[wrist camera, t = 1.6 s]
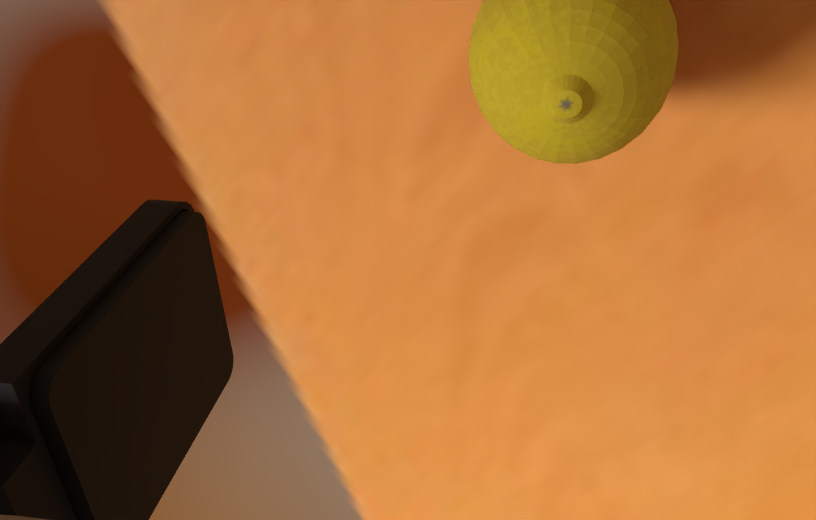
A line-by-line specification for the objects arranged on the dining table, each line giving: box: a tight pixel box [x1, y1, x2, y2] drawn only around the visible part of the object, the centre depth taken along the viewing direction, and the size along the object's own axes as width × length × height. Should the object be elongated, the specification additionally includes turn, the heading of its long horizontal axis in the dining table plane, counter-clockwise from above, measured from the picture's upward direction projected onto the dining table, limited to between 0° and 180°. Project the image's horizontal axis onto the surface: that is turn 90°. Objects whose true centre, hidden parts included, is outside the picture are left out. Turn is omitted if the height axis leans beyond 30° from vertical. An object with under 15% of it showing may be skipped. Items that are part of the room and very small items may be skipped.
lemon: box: [468, 0, 679, 163], centre depth 20 cm, size 6×6×8 cm
